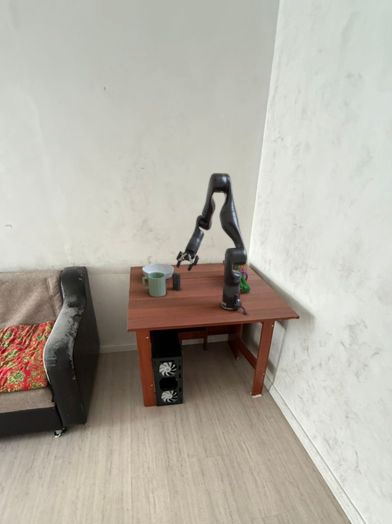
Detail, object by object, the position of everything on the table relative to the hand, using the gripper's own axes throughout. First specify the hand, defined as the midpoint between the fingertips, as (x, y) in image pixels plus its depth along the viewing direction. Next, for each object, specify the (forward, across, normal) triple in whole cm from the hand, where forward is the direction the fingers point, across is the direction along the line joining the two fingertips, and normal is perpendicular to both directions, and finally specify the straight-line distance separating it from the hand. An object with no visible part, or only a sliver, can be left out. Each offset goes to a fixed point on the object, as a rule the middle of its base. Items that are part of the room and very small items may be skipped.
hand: (182, 268), depth 183 cm
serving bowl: (+8, -20, +8) cm, 23 cm away
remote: (+13, 0, +3) cm, 13 cm away
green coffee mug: (+22, -7, -6) cm, 24 cm away
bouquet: (-8, +29, +24) cm, 39 cm away
